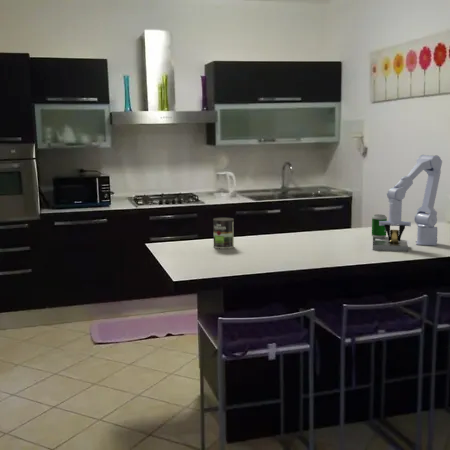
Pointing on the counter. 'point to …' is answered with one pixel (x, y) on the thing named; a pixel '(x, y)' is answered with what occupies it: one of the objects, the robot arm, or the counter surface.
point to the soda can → (378, 230)
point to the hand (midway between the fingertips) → (394, 240)
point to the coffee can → (223, 232)
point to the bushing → (394, 236)
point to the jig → (389, 245)
